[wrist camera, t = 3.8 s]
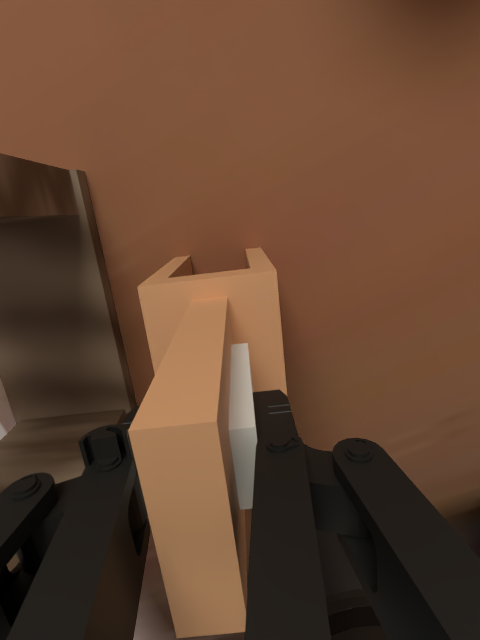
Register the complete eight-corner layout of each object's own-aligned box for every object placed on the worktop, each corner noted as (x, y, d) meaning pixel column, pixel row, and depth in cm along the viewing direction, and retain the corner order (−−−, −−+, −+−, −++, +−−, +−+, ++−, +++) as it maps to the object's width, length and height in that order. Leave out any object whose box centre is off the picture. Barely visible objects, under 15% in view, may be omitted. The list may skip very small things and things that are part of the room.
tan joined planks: (269, 341, 31) (350, 649, 9) (190, 350, 31) (87, 674, 9) (260, 247, 29) (339, 361, 7) (175, 257, 29) (-9, 400, 7)
